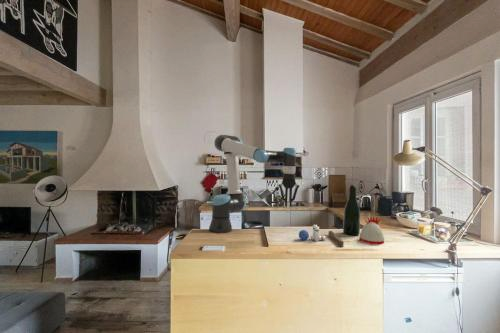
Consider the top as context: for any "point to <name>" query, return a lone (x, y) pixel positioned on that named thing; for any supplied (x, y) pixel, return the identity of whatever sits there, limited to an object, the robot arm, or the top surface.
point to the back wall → (336, 238)
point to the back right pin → (316, 234)
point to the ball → (303, 235)
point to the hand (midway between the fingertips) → (287, 212)
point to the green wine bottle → (351, 214)
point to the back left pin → (314, 229)
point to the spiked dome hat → (372, 232)
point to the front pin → (319, 237)
